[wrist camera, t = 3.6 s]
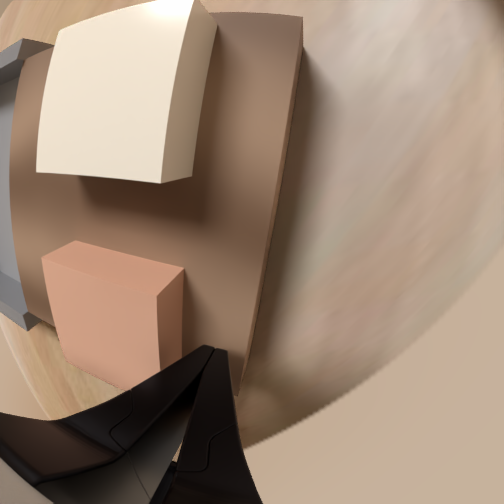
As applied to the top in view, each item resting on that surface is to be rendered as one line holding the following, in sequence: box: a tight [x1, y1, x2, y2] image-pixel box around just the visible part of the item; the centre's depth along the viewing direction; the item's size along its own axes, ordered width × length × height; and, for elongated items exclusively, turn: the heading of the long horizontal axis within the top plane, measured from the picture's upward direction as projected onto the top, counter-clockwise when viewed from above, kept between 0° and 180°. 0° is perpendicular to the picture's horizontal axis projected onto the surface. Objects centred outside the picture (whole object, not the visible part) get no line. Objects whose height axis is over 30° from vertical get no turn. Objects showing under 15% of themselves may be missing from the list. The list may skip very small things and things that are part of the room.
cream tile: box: [36, 0, 218, 183], centre depth 6 cm, size 5×5×2 cm
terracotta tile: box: [41, 240, 184, 391], centre depth 9 cm, size 5×5×2 cm
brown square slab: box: [9, 12, 303, 396], centre depth 10 cm, size 14×13×2 cm
